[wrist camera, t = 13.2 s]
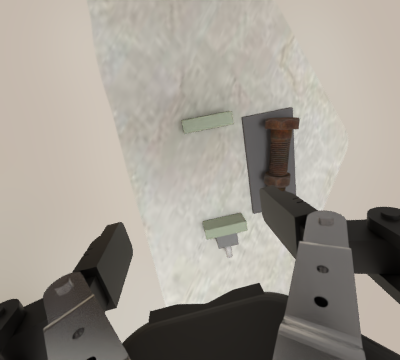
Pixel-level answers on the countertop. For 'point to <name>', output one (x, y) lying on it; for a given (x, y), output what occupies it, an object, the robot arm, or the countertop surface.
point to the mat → (263, 153)
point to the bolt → (279, 150)
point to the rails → (228, 225)
